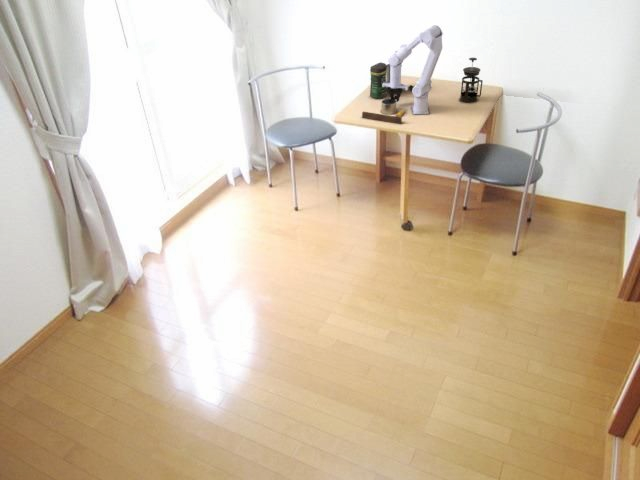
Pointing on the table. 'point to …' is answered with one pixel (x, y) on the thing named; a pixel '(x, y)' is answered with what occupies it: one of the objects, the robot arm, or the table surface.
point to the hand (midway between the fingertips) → (394, 100)
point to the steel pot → (389, 106)
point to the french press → (470, 91)
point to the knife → (400, 113)
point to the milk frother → (389, 79)
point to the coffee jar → (378, 80)
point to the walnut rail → (382, 117)
